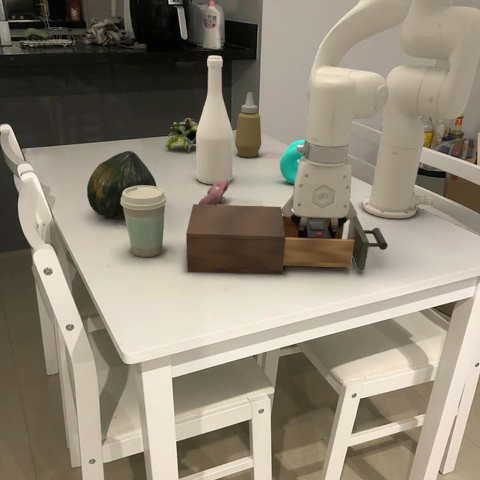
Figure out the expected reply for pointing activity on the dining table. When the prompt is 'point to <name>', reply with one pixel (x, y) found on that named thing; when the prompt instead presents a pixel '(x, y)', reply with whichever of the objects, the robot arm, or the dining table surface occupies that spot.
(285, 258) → the drawer
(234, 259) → the cabinet
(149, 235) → the coffee cup
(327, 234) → the red button box
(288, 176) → the donuts
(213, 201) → the video game controller
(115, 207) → the squash
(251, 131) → the squeeze bottle
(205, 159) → the wine bottle
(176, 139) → the green leafy plant
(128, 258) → the dining table surface
